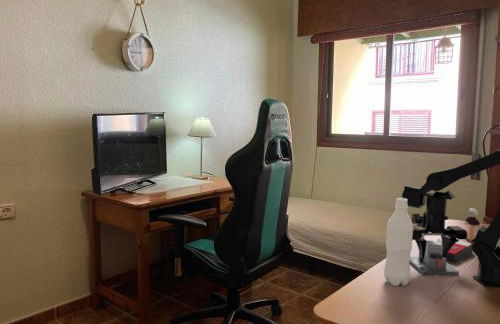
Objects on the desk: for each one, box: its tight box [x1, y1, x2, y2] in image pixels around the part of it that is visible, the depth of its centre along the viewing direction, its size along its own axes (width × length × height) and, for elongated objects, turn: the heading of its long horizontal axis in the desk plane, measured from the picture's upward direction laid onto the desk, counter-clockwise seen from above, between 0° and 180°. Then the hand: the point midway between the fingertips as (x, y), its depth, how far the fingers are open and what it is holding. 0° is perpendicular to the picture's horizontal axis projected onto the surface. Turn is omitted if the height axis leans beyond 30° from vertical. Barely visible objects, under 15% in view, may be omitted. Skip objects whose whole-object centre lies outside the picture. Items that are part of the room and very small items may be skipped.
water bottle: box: [383, 197, 414, 287], centre depth 118 cm, size 7×7×25 cm
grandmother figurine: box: [464, 207, 482, 242], centre depth 159 cm, size 8×4×13 cm, turn 25°
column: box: [423, 240, 443, 266], centre depth 130 cm, size 4×4×7 cm
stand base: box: [409, 251, 460, 276], centre depth 131 cm, size 12×11×5 cm
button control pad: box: [434, 237, 474, 265], centre depth 144 cm, size 11×4×15 cm
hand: (432, 258), depth 131 cm, fingers open, 6 cm apart
